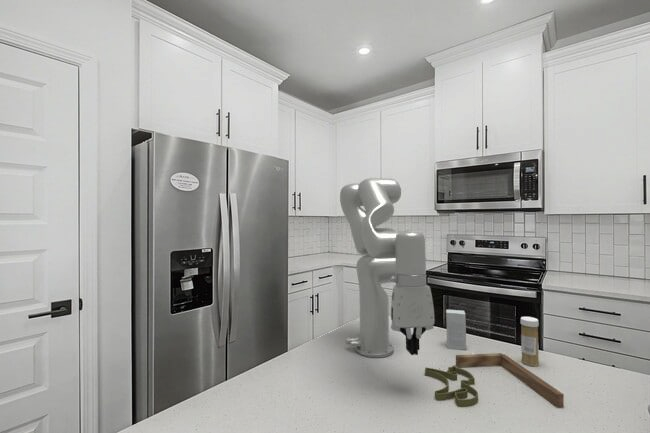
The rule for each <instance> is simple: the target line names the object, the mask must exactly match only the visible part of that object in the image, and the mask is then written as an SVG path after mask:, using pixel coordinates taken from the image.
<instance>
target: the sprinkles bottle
mask: <svg viewBox="0 0 650 433" xmlns="http://www.w3.org/2000/svg"><path fill="white" fill-rule="evenodd" d="M520 325H521V330H520V331H521V334H520V340H521V342H520V343H521V347H520V348H521V350H520V352H521V358H520V359H521V362H522V363H523V365H526V366H530V367H537V366H539V365H540V362H539V360H540V359H539V350H540V349H539V348H540V347H539V325H540V322H539V319H538V318H536V317H533V316H521V317H520Z"/></svg>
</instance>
